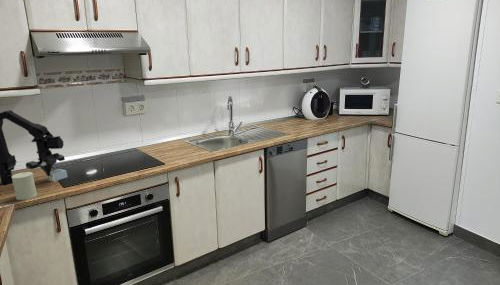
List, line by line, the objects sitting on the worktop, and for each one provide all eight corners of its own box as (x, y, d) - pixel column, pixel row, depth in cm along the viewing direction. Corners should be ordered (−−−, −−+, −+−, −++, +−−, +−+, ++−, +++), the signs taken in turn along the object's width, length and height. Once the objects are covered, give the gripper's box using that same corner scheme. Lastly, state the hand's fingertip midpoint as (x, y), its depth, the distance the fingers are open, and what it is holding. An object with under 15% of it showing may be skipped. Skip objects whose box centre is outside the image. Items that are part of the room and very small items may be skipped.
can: (40, 192, 187) (35, 170, 184) (32, 199, 178) (27, 176, 175) (21, 193, 186) (16, 171, 183) (12, 201, 177) (7, 177, 174)
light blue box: (45, 173, 204) (58, 168, 211) (46, 179, 205) (60, 175, 212) (53, 174, 201) (66, 170, 208) (54, 181, 202) (67, 176, 209)
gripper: (33, 155, 186) (38, 183, 190) (67, 146, 201) (72, 173, 205) (22, 152, 192) (28, 180, 196) (56, 144, 207) (61, 170, 211)
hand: (48, 176), depth 202 cm, fingers closed
